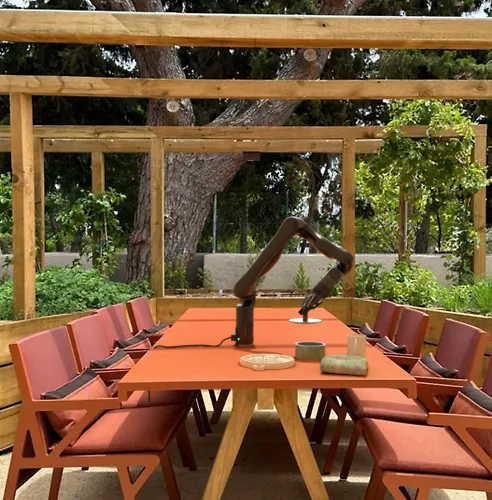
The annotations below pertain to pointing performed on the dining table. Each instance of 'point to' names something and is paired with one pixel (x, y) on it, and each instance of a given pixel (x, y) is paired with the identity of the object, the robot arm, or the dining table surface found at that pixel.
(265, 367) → the medallion
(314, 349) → the bowl
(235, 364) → the dining table surface
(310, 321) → the lid
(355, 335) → the mug
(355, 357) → the towel
